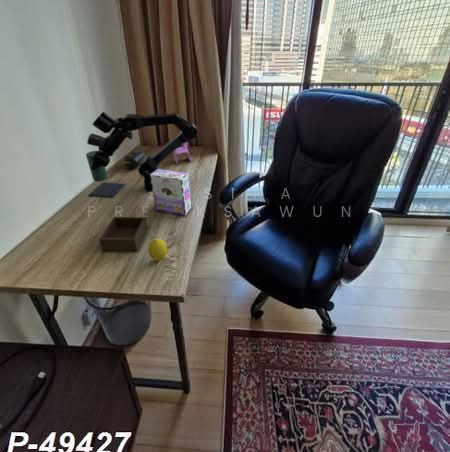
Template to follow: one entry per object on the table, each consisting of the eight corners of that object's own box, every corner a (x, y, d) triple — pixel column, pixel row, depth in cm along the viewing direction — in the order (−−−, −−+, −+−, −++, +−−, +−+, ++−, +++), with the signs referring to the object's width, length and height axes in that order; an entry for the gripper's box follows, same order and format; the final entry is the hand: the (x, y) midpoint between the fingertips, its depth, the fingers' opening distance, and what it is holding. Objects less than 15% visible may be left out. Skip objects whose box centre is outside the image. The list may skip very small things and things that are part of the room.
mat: (103, 183, 122) (102, 182, 122) (124, 184, 121) (124, 183, 120) (89, 195, 112) (89, 194, 112) (112, 197, 111) (112, 196, 111)
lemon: (152, 253, 81) (148, 234, 77) (169, 252, 81) (166, 233, 78) (148, 267, 76) (144, 247, 72) (167, 265, 76) (164, 245, 73)
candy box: (192, 208, 103) (188, 172, 96) (185, 216, 98) (181, 179, 91) (162, 202, 107) (157, 167, 100) (155, 209, 102) (149, 174, 95)
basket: (116, 227, 92) (113, 216, 90) (147, 227, 92) (145, 217, 90) (102, 250, 82) (98, 239, 80) (137, 251, 82) (134, 239, 80)
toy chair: (173, 160, 146) (170, 135, 139) (188, 157, 149) (186, 133, 142) (177, 165, 139) (174, 140, 132) (192, 162, 142) (190, 137, 135)
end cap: (138, 170, 135) (136, 158, 131) (126, 169, 136) (123, 157, 133) (146, 162, 143) (144, 151, 140) (135, 161, 144) (133, 150, 141)
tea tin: (109, 178, 110) (102, 153, 105) (94, 182, 107) (87, 157, 102) (105, 174, 114) (99, 149, 109) (92, 177, 111) (84, 152, 106)
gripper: (102, 121, 109) (82, 147, 112) (91, 135, 93) (67, 164, 96) (124, 137, 114) (104, 161, 117) (118, 152, 98) (95, 180, 101)
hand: (93, 166), depth 108 cm, fingers closed on tea tin, 6 cm apart
